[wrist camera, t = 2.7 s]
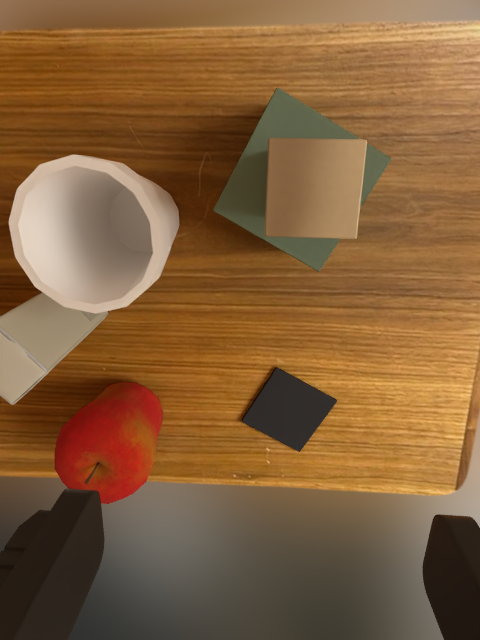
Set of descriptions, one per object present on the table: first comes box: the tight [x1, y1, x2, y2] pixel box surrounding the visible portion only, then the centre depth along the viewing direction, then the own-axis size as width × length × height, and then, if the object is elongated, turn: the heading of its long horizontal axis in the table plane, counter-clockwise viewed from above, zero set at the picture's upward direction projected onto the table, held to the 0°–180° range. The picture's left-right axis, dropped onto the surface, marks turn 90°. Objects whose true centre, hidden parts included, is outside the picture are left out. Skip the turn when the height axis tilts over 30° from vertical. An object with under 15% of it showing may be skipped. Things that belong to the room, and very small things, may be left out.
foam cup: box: [8, 154, 180, 314], centre depth 32 cm, size 10×9×13 cm
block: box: [265, 138, 367, 239], centre depth 25 cm, size 4×4×10 cm
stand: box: [213, 87, 391, 272], centre depth 33 cm, size 9×9×7 cm
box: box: [0, 292, 108, 405], centre depth 35 cm, size 5×4×13 cm
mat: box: [242, 367, 337, 452], centre depth 43 cm, size 7×7×1 cm
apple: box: [55, 382, 163, 504], centre depth 39 cm, size 9×8×12 cm
